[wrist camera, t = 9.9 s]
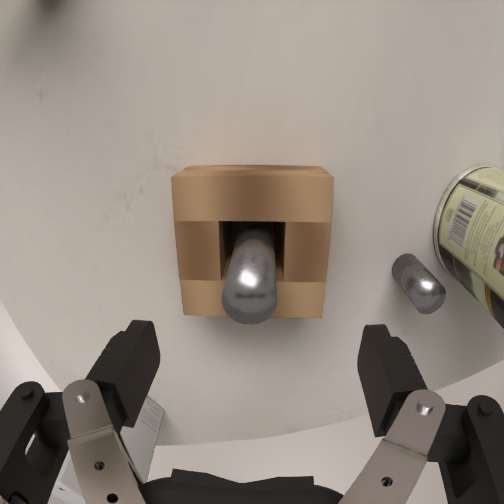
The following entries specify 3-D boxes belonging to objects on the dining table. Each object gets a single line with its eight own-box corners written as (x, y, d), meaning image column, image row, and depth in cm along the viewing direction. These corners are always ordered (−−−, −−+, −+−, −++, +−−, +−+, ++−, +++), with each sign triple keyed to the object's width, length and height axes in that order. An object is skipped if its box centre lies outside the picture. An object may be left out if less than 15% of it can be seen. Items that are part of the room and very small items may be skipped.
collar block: (321, 166, 21) (334, 177, 17) (313, 285, 25) (321, 317, 21) (189, 166, 22) (171, 176, 18) (196, 283, 25) (183, 314, 21)
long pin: (273, 212, 23) (278, 277, 14) (272, 244, 24) (276, 324, 14) (239, 211, 23) (220, 276, 14) (239, 243, 24) (222, 323, 15)
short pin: (421, 253, 23) (449, 282, 19) (415, 280, 24) (440, 313, 20) (394, 253, 24) (419, 283, 19) (389, 281, 24) (412, 315, 20)
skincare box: (84, 378, 31) (27, 481, 17) (114, 361, 29) (53, 481, 15) (136, 423, 33) (100, 527, 19) (170, 411, 32) (137, 529, 18)
